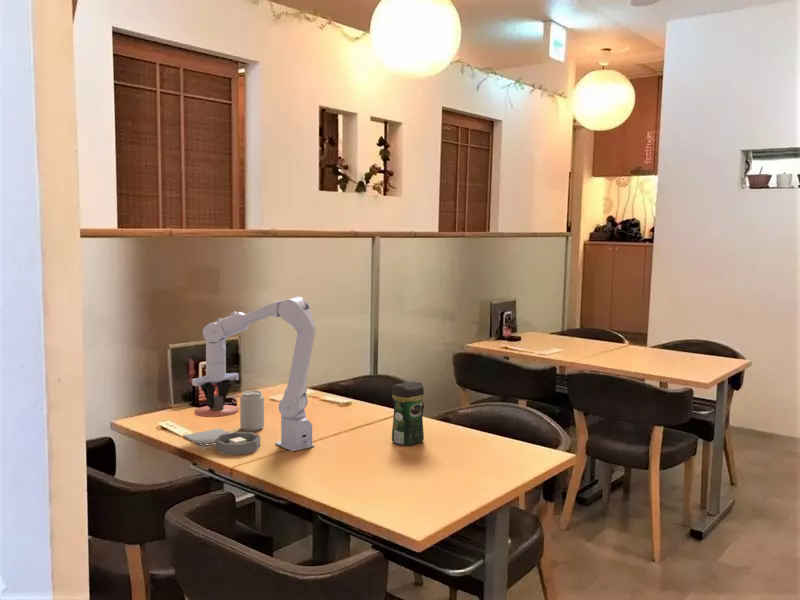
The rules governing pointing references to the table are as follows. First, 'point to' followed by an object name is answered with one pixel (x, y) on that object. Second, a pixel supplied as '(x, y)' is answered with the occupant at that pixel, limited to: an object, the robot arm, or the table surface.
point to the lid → (216, 409)
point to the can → (252, 410)
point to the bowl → (237, 443)
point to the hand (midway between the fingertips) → (216, 406)
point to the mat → (206, 436)
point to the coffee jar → (407, 413)
